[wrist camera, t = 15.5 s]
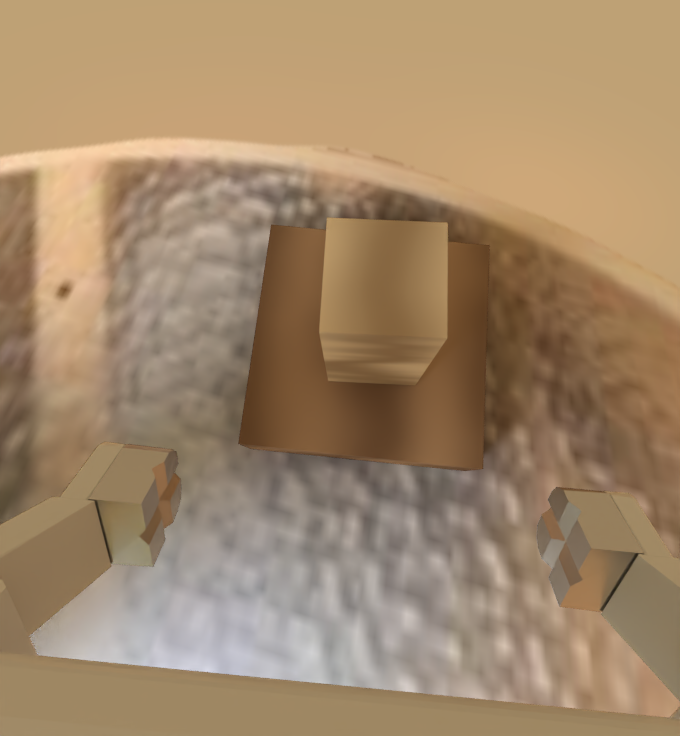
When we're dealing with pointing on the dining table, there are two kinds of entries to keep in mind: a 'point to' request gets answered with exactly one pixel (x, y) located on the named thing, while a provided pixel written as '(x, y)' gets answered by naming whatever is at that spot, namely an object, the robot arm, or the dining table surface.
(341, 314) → the maple block
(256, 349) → the walnut base block
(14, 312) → the dining table surface
